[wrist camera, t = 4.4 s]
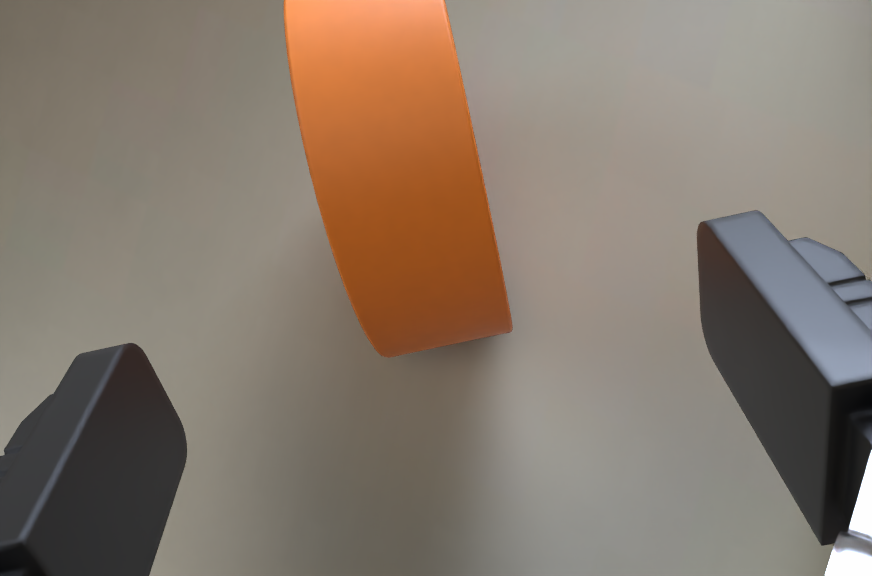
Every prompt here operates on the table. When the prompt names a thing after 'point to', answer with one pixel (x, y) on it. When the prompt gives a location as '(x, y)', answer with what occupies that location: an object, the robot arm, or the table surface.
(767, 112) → the table surface
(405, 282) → the disc
